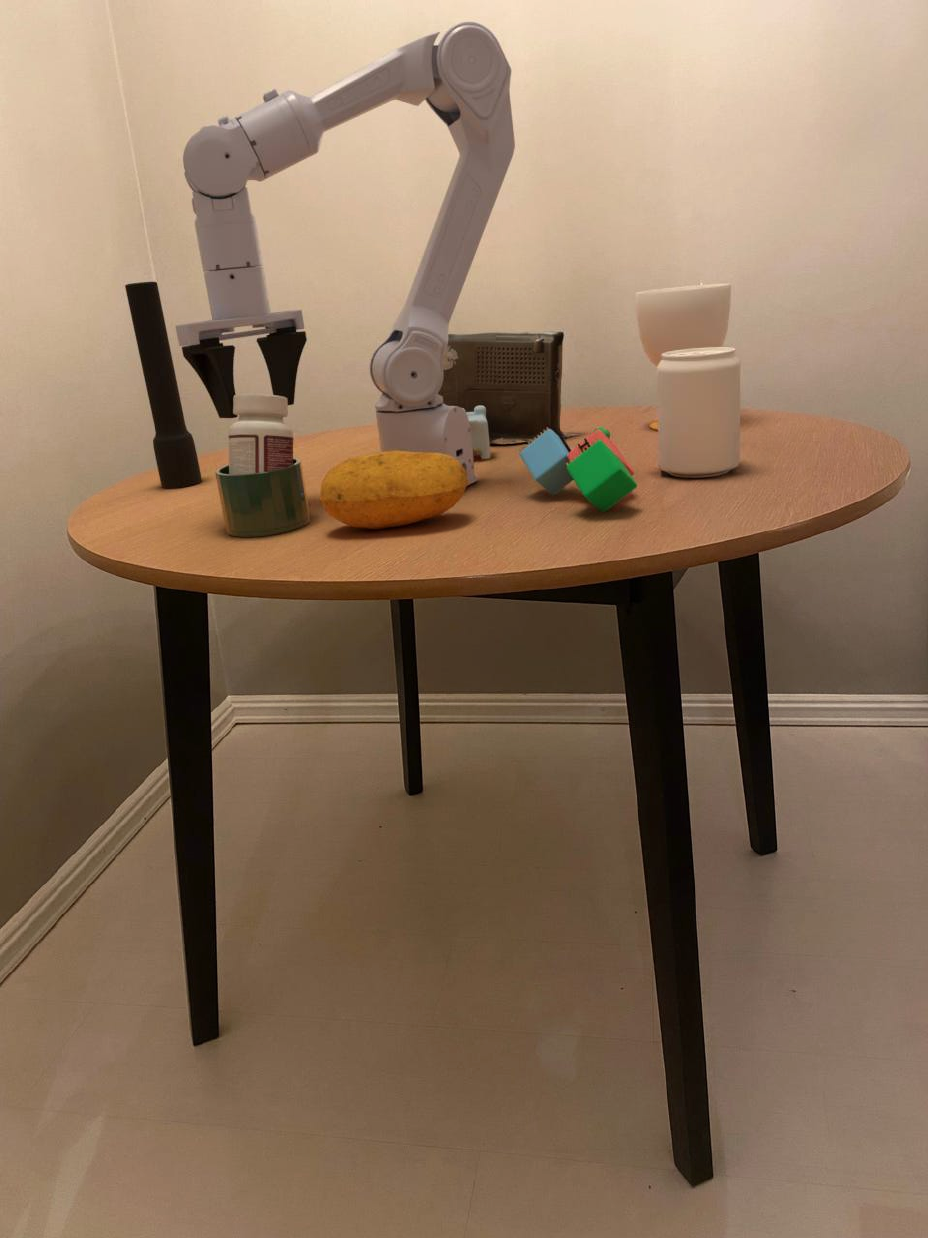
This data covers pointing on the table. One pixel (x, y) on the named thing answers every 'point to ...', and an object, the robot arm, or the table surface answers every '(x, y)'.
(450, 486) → the potato
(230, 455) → the pill bottle
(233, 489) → the green round pot
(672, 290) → the cup
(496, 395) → the radio
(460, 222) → the robot arm
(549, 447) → the building blocks
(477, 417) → the figurine
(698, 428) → the beverage can
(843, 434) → the table surface
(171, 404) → the flashlight
